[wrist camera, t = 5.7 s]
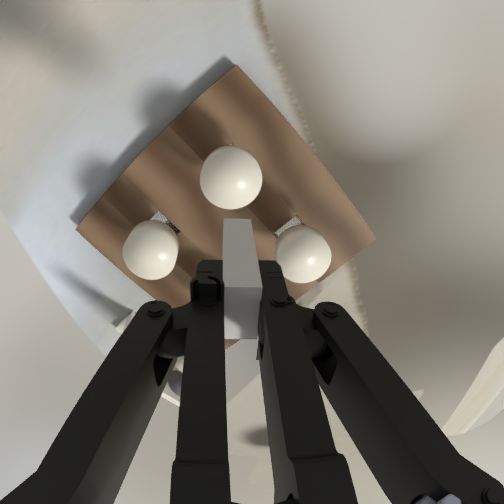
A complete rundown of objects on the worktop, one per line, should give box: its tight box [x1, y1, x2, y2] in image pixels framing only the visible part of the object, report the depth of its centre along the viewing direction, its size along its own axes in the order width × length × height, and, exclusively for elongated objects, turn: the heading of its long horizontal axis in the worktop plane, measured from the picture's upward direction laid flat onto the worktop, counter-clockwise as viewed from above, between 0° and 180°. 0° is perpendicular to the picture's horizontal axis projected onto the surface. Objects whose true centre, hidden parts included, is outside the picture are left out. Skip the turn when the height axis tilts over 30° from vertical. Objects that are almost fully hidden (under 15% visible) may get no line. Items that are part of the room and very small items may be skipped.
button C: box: [122, 220, 179, 280], centre depth 30 cm, size 5×5×4 cm
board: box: [76, 65, 376, 349], centre depth 34 cm, size 24×24×1 cm
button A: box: [200, 145, 262, 209], centre depth 28 cm, size 5×5×4 cm
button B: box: [275, 225, 331, 283], centre depth 31 cm, size 5×5×4 cm
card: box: [115, 311, 184, 406], centre depth 38 cm, size 4×12×9 cm, turn 41°
